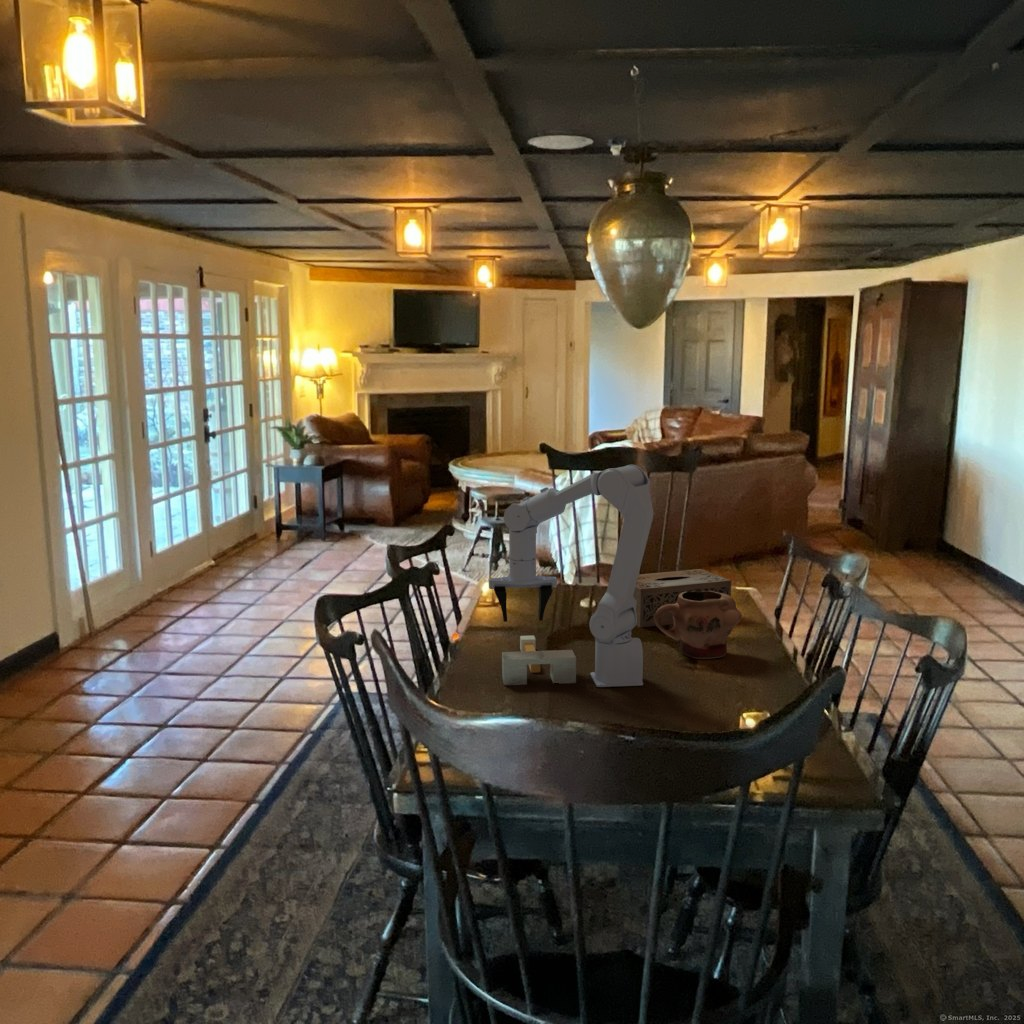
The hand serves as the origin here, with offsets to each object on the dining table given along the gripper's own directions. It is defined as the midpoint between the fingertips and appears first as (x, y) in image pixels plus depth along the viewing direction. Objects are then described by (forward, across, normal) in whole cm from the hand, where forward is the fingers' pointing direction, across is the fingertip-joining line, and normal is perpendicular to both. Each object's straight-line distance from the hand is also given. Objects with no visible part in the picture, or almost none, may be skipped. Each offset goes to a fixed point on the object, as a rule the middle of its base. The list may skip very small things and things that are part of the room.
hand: (522, 620), depth 199 cm
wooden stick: (+10, -2, -1) cm, 10 cm away
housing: (+9, -2, +12) cm, 15 cm away
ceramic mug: (+10, -39, -1) cm, 40 cm away
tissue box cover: (+10, -42, -34) cm, 55 cm away
